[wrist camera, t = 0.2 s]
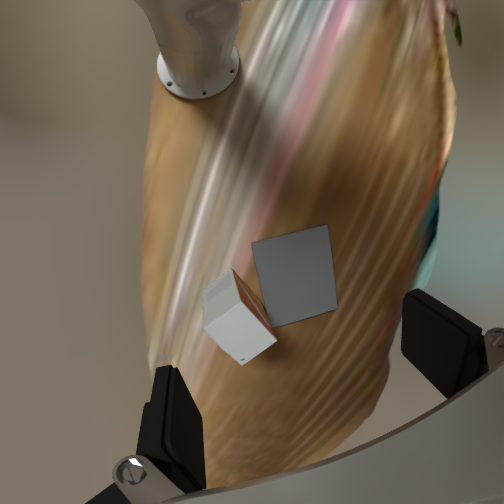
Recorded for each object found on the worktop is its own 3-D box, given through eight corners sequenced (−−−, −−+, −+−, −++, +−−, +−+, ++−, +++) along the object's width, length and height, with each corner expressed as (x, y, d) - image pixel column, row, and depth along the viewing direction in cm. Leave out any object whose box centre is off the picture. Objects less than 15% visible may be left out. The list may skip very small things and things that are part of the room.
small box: (261, 300, 50) (279, 341, 38) (232, 322, 50) (241, 367, 38) (231, 266, 48) (241, 300, 35) (201, 289, 48) (201, 330, 35)
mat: (250, 242, 47) (251, 243, 46) (326, 224, 48) (327, 224, 48) (269, 327, 52) (270, 328, 51) (336, 307, 53) (337, 308, 52)
